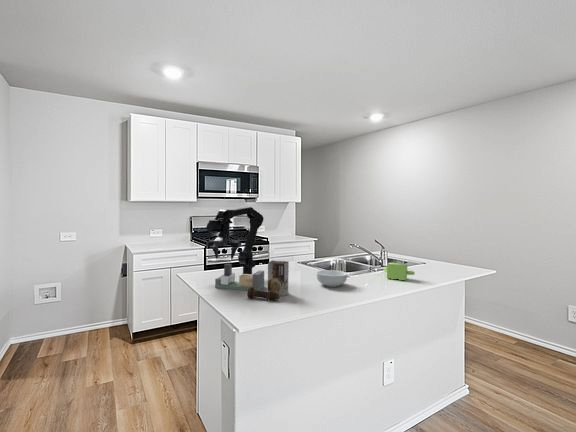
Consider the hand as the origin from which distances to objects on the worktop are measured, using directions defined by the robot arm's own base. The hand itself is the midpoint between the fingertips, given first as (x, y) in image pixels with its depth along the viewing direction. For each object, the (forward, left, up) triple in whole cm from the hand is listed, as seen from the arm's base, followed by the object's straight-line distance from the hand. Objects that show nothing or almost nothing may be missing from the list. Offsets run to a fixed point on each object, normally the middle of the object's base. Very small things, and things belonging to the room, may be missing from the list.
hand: (224, 258), depth 185 cm
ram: (+8, +6, -11) cm, 15 cm away
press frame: (+8, +13, -13) cm, 20 cm away
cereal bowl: (-11, +60, -13) cm, 62 cm away
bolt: (+25, +32, -13) cm, 43 cm away
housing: (+8, +18, -12) cm, 23 cm away
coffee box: (+14, +36, -13) cm, 41 cm away
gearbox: (-39, +98, -13) cm, 106 cm away
